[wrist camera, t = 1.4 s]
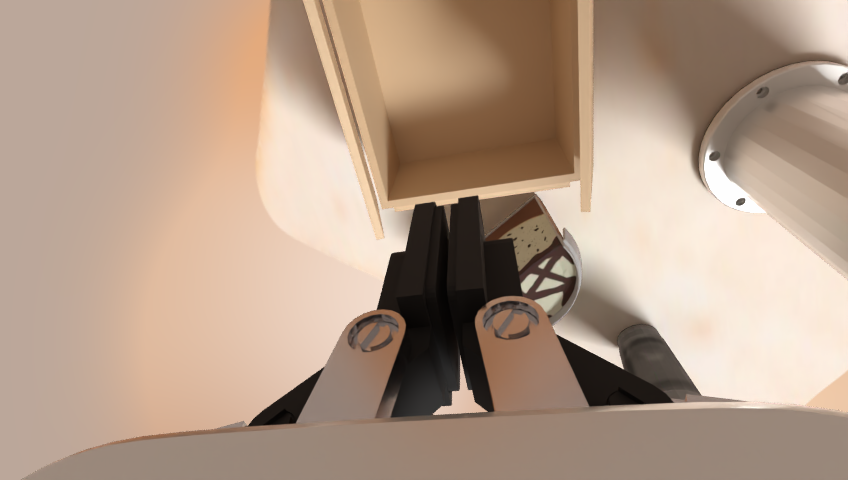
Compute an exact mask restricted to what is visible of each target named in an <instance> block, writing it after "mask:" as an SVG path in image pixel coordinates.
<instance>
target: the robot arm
mask: <svg viewBox="0 0 848 480" xmlns="http://www.w3.org/2000/svg"><path fill="white" fill-rule="evenodd" d="M699 171H700V174H701V178H702V181H703V183H704V184H705V186H706V188H707V189H708V191H710V192H711V193H712V194H713V195H714V196H715V197H716V198H717V199H718V200H719V201H721V202H722V203H723V204H725V205H727V206H729V207H731V208H733V209H736V210H740V211H745V212H754V213H767V214H768V215H769V216H770V217H771V218H773V219H774V220H775V221H776V222H778V223H779V224H780V225H781V226H782V227H784V228H785V229H786V230H787V231H788V232H790V233H791V234H792V235H793V236H795V237H796V238H797V239H798V240H799V241H801V242H802V243H803V244H804V245H805V246H807V247H808V248H809V249H810V250H812V251H813V252H814V253H815V254H816V255H818V256H819V257H820V258H821V259H823V260H824V261H825V262H826V263H827V264H829V265H830V266H831V267H832V268H833V269H835V270H836V271H837V272H838V273H840V274H841V275H842V276H843V277H844V278H846V279H847V280H848V66H845V65H842V64H838V63H833V62H828V61H807V62H801V63H796V64H791V65H788V66H785V67H782V68H779V69H776V70H773V71H771V72H769V73H767V74H765V75H763V76H761V77H759V78H757V79H756V80H754V81H753V82H751V83H750V84H748V85H747V86H746V87H744V88H743V89H741V90H740V91H739V92H738V93H737V94H735V95H734V96H733V97H732V98H731V99H730V100H729V101H728V102H727V103H726V104H725V105H724V106H723V107H722V109H721V110H720V111H719V112H718V113H717V115H716V116H715V117H714V119H713V121H712V122H711V124H710V126H709V127H708V129H707V131H706V133H705V136H704V138H703V141H702V143H701V148H700V153H699ZM460 356H461V360H462V364H463V369H464V374H465V378H466V383H467V387H468V390H472V391H473V395H474V400H475V402H476V403H477V404H479V405H480V406H481V407H482V408H484V409H485V410H487V411H488V412H480V413H463V414H445V415H433V413H434V412H435V411H436V410H438V409H439V408H440V407H441V406H451V405H452V391H459V389H460ZM21 480H848V412H843V411H839V410H831V409H825V408H817V407H810V406H803V405H795V404H782V403H764V402H748V401H740V400H731V399H723V398H715V397H707V396H699V395H691V394H686V397H685V400H681V399H673V398H670V397H669V396H668V395H667V394H666V393H665V392H663V391H662V390H660V389H659V388H657V387H656V386H654V385H652V384H651V383H649V382H647V381H645V380H643V379H641V378H639V377H637V376H635V375H633V374H631V373H629V372H628V371H626V370H624V369H622V368H620V367H618V366H616V365H614V364H612V363H610V362H608V361H606V360H605V359H603V358H601V357H599V356H597V355H595V354H593V353H591V352H589V351H587V350H585V349H583V348H581V347H580V346H578V345H576V344H574V343H572V342H570V341H568V340H566V339H564V338H562V337H560V336H558V335H557V334H555V331H554V329H553V327H552V325H551V323H550V321H549V318H548V316H547V314H546V312H545V311H544V309H543V308H542V307H541V305H539V304H538V303H536V302H535V301H533V300H531V299H528V298H525V297H523V294H522V288H521V283H520V277H519V271H518V266H517V260H516V254H515V249H514V243H513V238H506V239H498V240H490V241H485V235H484V229H483V222H482V215H481V209H480V202H479V197H478V195H476V196H470V197H463V198H458V204H451V216H450V234H449V229H448V224H447V219H446V214H445V209H444V206H437V205H436V202H429V203H422V204H415V207H414V212H413V217H412V222H411V227H410V231H409V236H408V241H407V246H406V251H404V252H396V253H392V254H391V257H390V260H389V264H388V268H387V272H386V276H385V280H384V284H383V288H382V292H381V296H380V299H379V303H378V307H377V310H374V311H370V312H367V313H364V314H362V315H360V316H359V317H357V318H355V319H354V320H353V321H352V322H350V323H349V324H348V325H347V327H346V328H345V330H344V331H343V332H342V334H341V336H340V338H339V340H338V342H337V344H336V346H335V348H334V350H333V352H332V354H331V356H330V358H329V360H328V362H327V364H326V366H325V367H323V368H322V369H321V370H320V371H318V372H316V373H315V374H314V375H312V376H311V377H310V378H308V379H307V380H305V381H304V382H303V383H301V384H300V385H298V386H297V387H296V388H294V389H293V390H291V391H290V392H288V393H287V394H286V395H284V396H283V397H282V398H280V399H279V400H277V401H276V402H274V403H273V404H272V405H270V406H269V407H267V408H266V409H265V410H263V411H262V412H261V413H260V414H259V415H257V416H256V417H255V418H254V419H253V420H252V421H251V423H250V424H249V425H248V426H247V425H246V424H245V422H244V421H242V422H239V423H235V424H231V425H227V426H224V427H220V428H217V429H211V430H198V431H187V432H177V433H168V434H158V435H149V436H142V437H136V438H131V439H126V440H120V441H115V442H110V443H107V444H103V445H100V446H96V447H93V448H90V449H86V450H83V451H81V452H78V453H76V454H73V455H70V456H68V457H65V458H63V459H61V460H58V461H55V462H53V463H51V464H49V465H47V466H45V467H43V468H41V469H39V470H37V471H35V472H33V473H32V474H30V475H28V476H26V477H25V478H23V479H21Z"/></svg>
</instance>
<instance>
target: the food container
mask: <svg viewBox="0 0 848 480" xmlns="http://www.w3.org/2000/svg"><path fill="white" fill-rule="evenodd" d="M506 238H513V243H514V249H515V254H516V260H517V266H518V271H519V277H520V283H521V288H522V294H523V297H525V298H528V299H531V300H533V301H535V302H536V303H538V304H539V305H541V307H542V308H543V309H544V311H545V312H546V314H547V316H548V318H549V321H550V323H551V325H552V326H553V325H554V324H556V323H557V322H558V321H560V320H561V319H562V318H563V317H564V316H565V315H566V314H567V313H568V312H569V310H570V309H571V307H572V306H573V304H574V302H575V300H576V298H577V295H578V293H579V290H580V286H581V279H582V263H581V256H580V252H579V249H578V246H577V244H576V242H575V240H574V239H573V237H572V235H571V234H570V233H569V232H568V231H567V230H566V229H565V228H563V237H562V235H561V233H560V232H559V230H558V228H557V226H556V225H555V223H554V221H553V219H552V218H551V216H550V214H549V213H548V211H547V209H546V207H545V206H544V204H543V203H542V201H541V199H540V198H539V197H538V196H537V195H536V194H535V195H533V196H532V197H531V198H530V199H529V200H527V201H526V202H525V203H524V204H523V205H521V206H520V207H519V208H518V209H517V210H515V211H514V212H513V213H512V214H511V215H509V216H508V217H507V218H506V219H505V220H503V221H502V222H501V223H500V224H499V225H497V226H496V227H495V228H494V229H493V230H491V231H490V232H489V233H488V234H487V235H485V241H490V240H498V239H506Z"/></svg>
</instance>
